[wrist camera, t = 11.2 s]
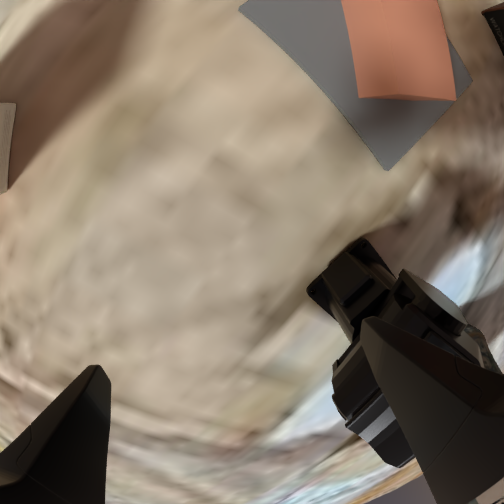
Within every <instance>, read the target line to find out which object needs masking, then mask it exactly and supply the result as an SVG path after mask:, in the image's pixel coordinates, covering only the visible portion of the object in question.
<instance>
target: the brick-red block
mask: <svg viewBox="0 0 504 504" xmlns="http://www.w3.org/2000/svg"><path fill="white" fill-rule="evenodd" d="M341 3H342V7H343V11H344V15H345V20H346V25H347V29H348V34H349V39H350V45H351V50H352V56H353V62H354V68H355V74H356V81H357V89H358V96H359V98H375V99H397V100H411V101H423V100H438V101H456V92H455V84H454V77H453V70H452V63H451V58H450V52H449V47H448V42H447V38H446V33H445V29H444V25H443V21H442V17H441V13H440V10H439V6H438V3H437V0H341Z"/></svg>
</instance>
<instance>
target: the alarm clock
mask: <svg viewBox="0 0 504 504" xmlns="http://www.w3.org/2000/svg"><path fill="white" fill-rule="evenodd" d="M481 13H482V15H484V17H485V18H486V20H487V22H488V24H489V26H490V28H491V30H492V32H493V34H494V36H495V38H496V40H497V42H498V44H499V46H500V48H501V51H502V53H503V55H504V2H503V3H501V4H498V5H496V6H493V7H491V8H488V9H486V10H484V11H482V12H481Z"/></svg>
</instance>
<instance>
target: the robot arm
mask: <svg viewBox="0 0 504 504" xmlns="http://www.w3.org/2000/svg"><path fill="white" fill-rule="evenodd" d="M363 242H364V245H363V246H361V244H362V243H363ZM313 289H315V291H314V292H311V291H312V290H313ZM306 291H307V293H308V295H309V296H310V297H311V298H312V299H313V300H314V301H315V302H316V303H317V304H318V305H320V306H321V307H322V308H323V309H324V310H325V311H326V312H327V313H328V314H330V315H331V316H332V317H333V318H334V319H335V320H336V321H337V322H338V323H339V325H340V326H341V328H342V330H343V331H344V333H345V335H346V336H347V338H348V340H349V341H350V343H351V345H350V346H349V347H348V349H347V350H346V351H345V352H344V354H343V355H342V356H341V357H340V358H339V360H338V359H337V360H336V361H335V362H334V364H333V365H332V366H333V377H332V384H333V389H334V394H333V395H332V399H333V402H334V404H335V405H336V407H337V410H338V412H339V413H340V415H341V416H342V417H343V418H344V419H345V421H347V423H346V424H345V426H346V428H348V429H349V430H351V431H353V432H354V433H356V434H358V435H359V436H360V437H361V438H363V439H364V440H365V441H366V442H368V443H369V445H370V446H371V447H372V448H373V449H374V450H375V451H376V452H377V454H378V455H379V456H380V457H381V458H382V460H383V461H384V462H385V463H387V464H390V465H392V466H395V467H397V468H401V467H403V466H404V465H406V464H407V463H408V462H410V461H411V460H412V459H414V458H415V457H416V459H417V461H418V463H419V465H420V468H421V470H422V472H424V473H423V474H424V476H425V479H426V481H427V483H428V485H429V487H430V489H431V492H432V494H433V496H434V498H435V500H436V503H437V504H468V503H469V502H471V501H472V500H474V499H475V498H476V500H477V502H478V503H479V504H504V375H502V374H499V373H497V372H494V371H491V370H488V369H486V368H484V364H483V360H482V356H481V352H480V348H479V346H478V344H477V343H476V342H475V341H474V340H473V339H472V338H471V337H470V336H469V335H468V334H467V333H466V332H465V331H463V330H464V329H465V327H466V326H467V325H468V324H467V322H466V320H465V318H464V316H463V314H462V313H461V311H460V309H459V308H458V306H457V305H456V304H455V303H454V302H453V301H452V300H451V299H449V298H448V297H447V296H446V295H445V294H443V293H442V292H441V291H440V290H438V289H437V288H435V287H434V286H432V285H431V284H429V283H427V282H426V281H424V280H422V279H421V278H419V277H417V276H415V275H414V274H412V273H410V272H409V271H407V270H405V269H402V270H401V272H400V274H399V278H398V279H396V278H395V276H394V275H393V274H392V272H391V271H390V269H389V268H388V267H387V265H386V264H385V263H384V261H383V260H382V259H381V257H380V256H379V254H378V253H377V252H376V250H375V249H374V248H373V247H372V245H371V244H370V243H369V241H368V240H366V239H365V238H360V239H358V240H357V241H356V242H355V243H354V244H353V245H352V246H351V247H350V248H349V249H348V250H347V251H346V252H344V253H343V254H342V255H341V256H340V257H339V258H338V259H337V260H335V261H334V262H333V263H332V264H331V265H330V266H329V267H328V268H327V269H326V270H325V271H324V272H323V273H322V274H321V275H320V276H319V277H318V278H317V279H316V280H315V281H314V282H312V283H311V284H310V285H309V286H308V287H307V290H306ZM110 419H111V382H110V380H109V378H108V376H107V375H106V373H105V372H104V370H103V368H102V367H101V366H100V365H89V366H88V367H87V368H86V369H85V370H84V371H83V372H82V373H81V374H80V375H79V376H78V377H77V378H76V379H75V380H74V381H73V382H72V383H71V384H70V385H69V386H68V387H67V388H66V389H65V390H64V391H63V392H62V393H61V394H60V395H59V396H58V397H57V398H56V399H55V400H54V401H53V402H52V403H51V404H50V405H49V406H48V407H47V408H46V409H45V410H44V411H43V412H42V413H41V414H40V415H39V416H38V417H37V418H36V419H35V420H34V421H33V422H32V423H31V425H29V426H28V427H27V428H26V429H25V430H24V431H23V432H22V433H21V434H20V435H19V436H18V437H17V438H16V439H15V440H14V441H13V442H12V443H11V444H10V445H9V446H8V447H6V448H5V449H4V450H3V451H2V452H1V453H0V504H105V486H106V467H107V453H108V442H109V432H110Z"/></svg>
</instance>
